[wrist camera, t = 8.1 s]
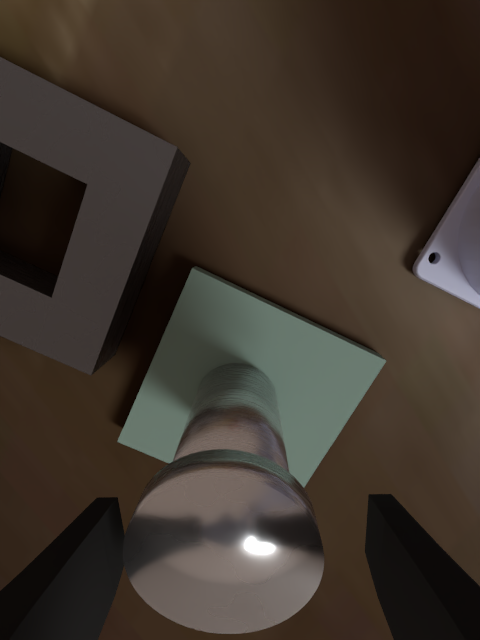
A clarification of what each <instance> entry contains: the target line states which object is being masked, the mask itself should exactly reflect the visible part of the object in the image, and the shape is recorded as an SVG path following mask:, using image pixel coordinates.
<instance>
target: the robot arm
mask: <svg viewBox="0 0 480 640" xmlns="http://www.w3.org/2000/svg"><path fill="white" fill-rule="evenodd" d="M431 253H434V254H435V256H436V257H435V260H434V261H433V262H432V263H430V262H429V260H428V258H429V255H430V254H431ZM413 273H414V275H415V276H416V277H418V278H420V279H422V280H423V281H425V282H427V283H429V284H431V285H433V286H435V287H437V288H439V289H441V290H443V291H445V292H447V293H449V294H451V295H453V296H455V297H457V298H459V299H461V300H463V301H465V302H467V303H469V304H471V305H473V306H475V307H477V308H479V309H480V158H479V160H478V161H477V163H476V164H475V166H474V168H473V169H472V171H471V172H470V174H469V176H468V177H467V179H466V181H465V182H464V184H463V185H462V187H461V189H460V190H459V192H458V193H457V195H456V197H455V198H454V200H453V201H452V203H451V205H450V206H449V208H448V210H447V211H446V213H445V214H444V216H443V218H442V219H441V221H440V222H439V224H438V226H437V227H436V229H435V230H434V232H433V234H432V235H431V237H430V239H429V240H428V242H427V243H426V245H425V247H424V248H423V250H422V251H421V253H420V255H419V256H418V258H417V259H416V261H415V263H414V265H413ZM124 537H125V535H124V530H123V524H122V519H121V514H120V508H119V503H118V497H111V498H96V499H95V500H94V501H93V502H92V503H91V504H90V505H89V506H88V507H87V508H86V509H85V510H84V511H83V512H82V513H81V514H80V515H79V516H78V517H77V518H76V519H75V520H74V521H73V522H72V523H71V524H70V525H69V526H68V527H67V528H66V529H65V530H64V531H63V532H62V533H61V534H60V535H59V536H58V537H57V538H56V539H55V540H54V541H53V542H52V543H51V544H50V545H49V546H48V547H47V548H46V549H45V550H44V551H42V552H41V553H40V554H39V555H38V556H37V557H36V558H35V559H34V560H33V561H32V562H31V563H30V564H29V565H28V566H27V567H26V568H25V569H24V570H23V571H22V572H21V573H20V574H19V575H17V576H16V577H15V578H14V579H13V580H12V581H11V582H10V583H9V584H8V585H6V586H5V587H4V588H3V589H2V590H1V591H0V640H98V637H99V635H100V632H101V630H102V627H103V625H104V622H105V620H106V617H107V615H108V612H109V610H110V607H111V604H112V602H113V599H114V597H115V594H116V590H117V587H118V584H119V581H120V577H121V574H122V570H123V567H124V560H123V543H124ZM365 553H366V557H367V561H368V564H369V568H370V571H371V575H372V579H373V582H374V585H375V589H376V592H377V596H378V599H379V601H380V604H381V607H382V609H383V612H384V615H385V617H386V620H387V623H388V625H389V628H390V630H391V633H392V636H393V638H394V640H480V586H479V585H478V584H477V583H476V582H475V581H474V580H473V579H472V578H471V577H470V576H469V575H468V574H467V573H466V572H465V571H464V570H463V569H462V568H461V567H460V566H459V565H458V564H457V563H456V562H455V561H454V560H453V559H452V558H451V557H450V556H449V555H448V554H447V553H446V552H445V551H444V550H443V549H442V548H441V547H440V546H439V545H438V544H437V543H436V542H435V540H434V539H433V538H432V537H431V536H430V535H429V534H428V533H427V532H426V531H425V530H424V529H423V528H422V527H421V526H420V525H419V523H418V522H417V521H416V520H415V519H414V518H413V517H412V516H411V515H410V514H409V513H408V512H407V510H406V509H405V508H404V507H403V506H402V505H401V504H400V503H399V502H398V501H397V500H396V499H395V498H394V497H393V496H392V495H391V494H369V499H368V514H367V529H366V543H365Z"/></svg>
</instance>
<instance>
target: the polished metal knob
mask: <svg viewBox="0 0 480 640" xmlns="http://www.w3.org/2000/svg"><path fill="white" fill-rule="evenodd" d="M123 560H124V566H125V569H126V572H127V575H128V577H129V579H130V581H131V583H132V585H133V587H134V588H135V590H136V591H137V593H138V594H139V595H140V596H141V597H142V598H143V600H144V601H145V602H146V603H147V604H149V605H150V606H151V607H152V608H153V609H154V610H156V611H157V612H159V613H160V614H162V615H163V616H165V617H166V618H168V619H170V620H172V621H174V622H176V623H178V624H181V625H183V626H186V627H189V628H192V629H196V630H200V631H205V632H210V633H219V634H238V633H248V632H253V631H258V630H262V629H265V628H269V627H271V626H274V625H276V624H279V623H281V622H282V621H284V620H286V619H288V618H290V617H291V616H292V615H294V614H295V613H297V612H298V611H299V610H300V609H301V608H302V607H303V606H305V605H306V603H307V602H308V601H309V600H310V599H311V597H312V596H313V594H314V593H315V591H316V589H317V588H318V585H319V583H320V580H321V578H322V573H323V569H324V553H323V546H322V542H321V538H320V533H319V529H318V525H317V520H316V516H315V512H314V509H313V505H312V502H311V500H310V498H309V496H308V494H307V492H306V491H305V489H304V488H303V486H302V485H301V484H300V483H299V482H298V480H297V479H296V478H295V477H294V476H293V475H292V474H290V473H289V467H288V461H287V455H286V449H285V443H284V437H283V430H282V424H281V418H280V412H279V406H278V400H277V394H276V390H275V387H274V385H273V383H272V382H271V380H270V379H269V378H268V376H267V375H266V374H265V373H263V372H262V371H261V370H259V369H257V368H256V367H254V366H251V365H248V364H243V363H229V364H224V365H221V366H219V367H216V368H215V369H213V370H212V371H210V372H209V373H208V374H207V375H206V376H205V377H204V378H203V380H202V381H201V383H200V385H199V388H198V390H197V393H196V396H195V399H194V402H193V404H192V407H191V410H190V413H189V416H188V419H187V422H186V424H185V427H184V430H183V433H182V436H181V439H180V442H179V444H178V447H177V450H176V453H175V456H174V459H173V462H171V463H169V464H168V465H167V466H165V467H164V468H162V469H161V470H160V471H159V472H158V473H157V474H156V475H155V476H154V477H153V478H152V479H151V480H150V482H149V483H148V484H147V486H146V487H145V489H144V491H143V493H142V495H141V497H140V500H139V502H138V504H137V507H136V509H135V511H134V514H133V516H132V519H131V521H130V523H129V526H128V528H127V531H126V534H125V537H124V543H123Z"/></svg>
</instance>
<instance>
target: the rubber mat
mask: <svg viewBox="0 0 480 640" xmlns="http://www.w3.org/2000/svg"><path fill="white" fill-rule="evenodd" d="M385 362H386V360H385V359H384V358H383V357H382V356H381V355H380V354H379V353H377V352H375V351H373V350H371V349H368V348H366V347H364V346H362V345H360V344H358V343H356V342H354V341H352V340H350V339H348V338H345V337H343V336H341V335H339V334H337V333H335V332H333V331H331V330H329V329H327V328H325V327H322V326H320V325H318V324H316V323H314V322H312V321H310V320H308V319H306V318H304V317H302V316H300V315H297V314H295V313H293V312H291V311H289V310H287V309H285V308H283V307H281V306H279V305H277V304H274V303H272V302H270V301H268V300H266V299H264V298H262V297H260V296H258V295H256V294H254V293H251V292H249V291H247V290H245V289H243V288H241V287H239V286H237V285H235V284H233V283H231V282H228V281H226V280H224V279H222V278H220V277H218V276H216V275H214V274H212V273H210V272H208V271H205V270H203V269H201V268H199V267H197V266H195V267H193V268H192V270H191V272H190V274H189V277H188V279H187V281H186V284H185V286H184V288H183V291H182V293H181V295H180V298H179V300H178V302H177V305H176V307H175V309H174V311H173V314H172V316H171V318H170V321H169V323H168V325H167V328H166V330H165V332H164V335H163V337H162V339H161V342H160V344H159V346H158V349H157V351H156V353H155V356H154V358H153V360H152V363H151V365H150V367H149V370H148V372H147V374H146V376H145V379H144V381H143V383H142V386H141V388H140V390H139V393H138V395H137V397H136V400H135V402H134V404H133V407H132V409H131V411H130V414H129V416H128V418H127V421H126V423H125V425H124V428H123V430H122V432H121V435H120V437H119V439H118V441H117V442H119V443H122V444H124V445H126V446H129V447H131V448H134V449H136V450H138V451H141V452H143V453H145V454H148V455H150V456H153V457H155V458H157V459H160V460H162V461H165V462H167V463H171V462H173V459H174V456H175V453H176V450H177V447H178V444H179V442H180V439H181V436H182V433H183V430H184V427H185V424H186V422H187V419H188V416H189V413H190V410H191V407H192V404H193V402H194V399H195V396H196V393H197V390H198V388H199V385H200V383H201V381H202V380H203V378H204V377H205V376H206V375H207V374H208V373H209V372H210V371H212V370H213V369H215V368H216V367H219V366H221V365H224V364H229V363H243V364H248V365H251V366H254V367H256V368H257V369H259V370H261V371H262V372H263V373H265V374H266V375H267V376H268V378H269V379H270V380H271V382H272V383H273V385H274V387H275V390H276V394H277V400H278V406H279V412H280V418H281V424H282V430H283V437H284V443H285V449H286V455H287V461H288V467H289V473H290V474H292V475H293V476H294V477H295V478H296V479H297V480H298V482H299V483H300V484H301V485H302V486H303V488H304V487H305V485H306V484H307V482H308V480H309V479H310V477H311V476H312V474H313V473H314V471H315V470H316V468H317V467H318V465H319V464H320V462H321V461H322V459H323V457H324V456H325V454H326V453H327V451H328V450H329V448H330V447H331V445H332V444H333V442H334V441H335V439H336V437H337V436H338V434H339V433H340V431H341V430H342V428H343V427H344V425H345V424H346V422H347V421H348V419H349V418H350V416H351V414H352V413H353V411H354V410H355V408H356V407H357V405H358V404H359V402H360V401H361V399H362V398H363V396H364V395H365V393H366V391H367V390H368V388H369V387H370V385H371V384H372V382H373V381H374V379H375V378H376V376H377V375H378V373H379V371H380V370H381V368H382V367H383V365H384V364H385Z"/></svg>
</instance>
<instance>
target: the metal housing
mask: <svg viewBox="0 0 480 640" xmlns="http://www.w3.org/2000/svg"><path fill="white" fill-rule="evenodd" d="M12 148H14V149H16V150H18V151H20V152H22V153H24V154H26V155H28V156H30V157H32V158H34V159H36V160H38V161H40V162H42V163H45V164H47V165H49V166H51V167H53V168H55V169H57V170H59V171H61V172H63V173H65V174H67V175H69V176H71V177H73V178H75V179H77V180H79V181H82V182H84V183H86V184H88V185H87V188H86V191H85V194H84V197H83V200H82V203H81V207H80V210H79V213H78V216H77V219H76V222H75V225H74V229H73V232H72V235H71V238H70V241H69V244H68V248H67V251H66V254H65V257H64V260H63V263H62V266H61V270H60V273H59V276H55V275H53V274H51V273H49V272H47V271H44V270H42V269H40V268H38V267H36V266H33V265H31V264H29V263H27V262H25V261H23V260H20V259H18V258H16V257H14V256H12V255H9V254H7V253H5V252H3V251H1V250H0V336H2V337H4V338H6V339H9V340H11V341H13V342H15V343H18V344H20V345H22V346H25V347H27V348H29V349H32V350H34V351H36V352H39V353H41V354H43V355H45V356H48V357H50V358H52V359H55V360H57V361H59V362H62V363H64V364H66V365H68V366H71V367H73V368H75V369H78V370H80V371H82V372H85V373H87V374H89V375H92V374H93V373H94V372H96V371H97V370H98V369H99V368H100V367H101V366H103V365H104V364H105V363H106V362H107V361H108V360H109V359H111V358H112V357H113V356H114V355H115V353H116V351H117V348H118V346H119V343H120V341H121V338H122V336H123V333H124V331H125V328H126V325H127V323H128V320H129V318H130V315H131V313H132V310H133V308H134V305H135V303H136V300H137V297H138V295H139V292H140V290H141V287H142V285H143V282H144V280H145V277H146V275H147V272H148V270H149V267H150V264H151V262H152V259H153V257H154V254H155V252H156V249H157V247H158V244H159V242H160V239H161V236H162V234H163V231H164V229H165V226H166V224H167V221H168V219H169V216H170V214H171V211H172V209H173V206H174V203H175V201H176V198H177V196H178V193H179V191H180V188H181V186H182V183H183V181H184V178H185V175H186V173H187V170H188V168H189V165H190V162H189V161H188V160H187V158H186V157H185V156H184V155H183V153H182V152H181V151H180V150H179V149H178V147H176V146H174V145H172V144H170V143H168V142H166V141H164V140H162V139H160V138H158V137H156V136H154V135H152V134H150V133H149V132H147V131H145V130H143V129H141V128H139V127H137V126H135V125H133V124H131V123H129V122H127V121H125V120H123V119H121V118H119V117H117V116H115V115H113V114H111V113H109V112H107V111H105V110H103V109H101V108H99V107H97V106H96V105H94V104H92V103H90V102H88V101H86V100H84V99H82V98H80V97H78V96H76V95H74V94H72V93H70V92H68V91H66V90H64V89H62V88H60V87H58V86H56V85H54V84H52V83H50V82H48V81H46V80H45V79H43V78H41V77H39V76H37V75H35V74H33V73H31V72H29V71H27V70H25V69H23V68H21V67H19V66H17V65H15V64H13V63H11V62H9V61H7V60H5V59H3V58H1V57H0V196H1V192H2V188H3V184H4V180H5V176H6V172H7V168H8V164H9V160H10V156H11V152H12Z"/></svg>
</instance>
